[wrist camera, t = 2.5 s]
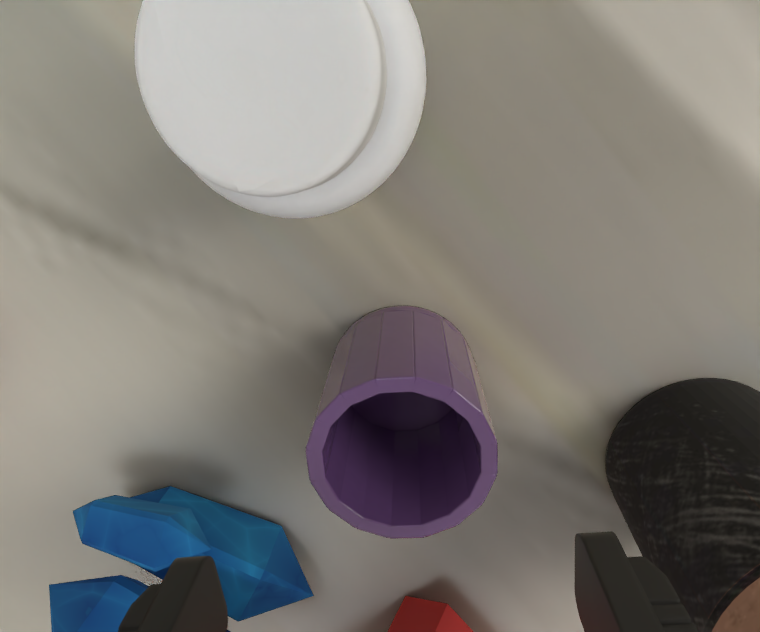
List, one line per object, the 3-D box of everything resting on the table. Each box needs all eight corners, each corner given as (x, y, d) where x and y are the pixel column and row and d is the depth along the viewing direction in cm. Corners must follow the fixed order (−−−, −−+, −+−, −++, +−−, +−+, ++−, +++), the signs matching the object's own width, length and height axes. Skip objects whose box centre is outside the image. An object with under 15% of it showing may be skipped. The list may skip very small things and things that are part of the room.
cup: (437, 280, 20) (449, 345, 15) (496, 401, 22) (527, 501, 16) (306, 341, 21) (271, 423, 16) (372, 451, 23) (361, 561, 17)
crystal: (-10, 527, 16) (332, 754, 15) (167, 410, 25) (398, 552, 23) (-51, 678, 19) (239, 884, 18) (122, 526, 27) (329, 660, 26)
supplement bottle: (454, 90, 18) (510, 66, 8) (340, 212, 19) (277, 309, 10) (329, -46, 17) (226, -257, 7) (218, 95, 18) (11, 78, 9)
